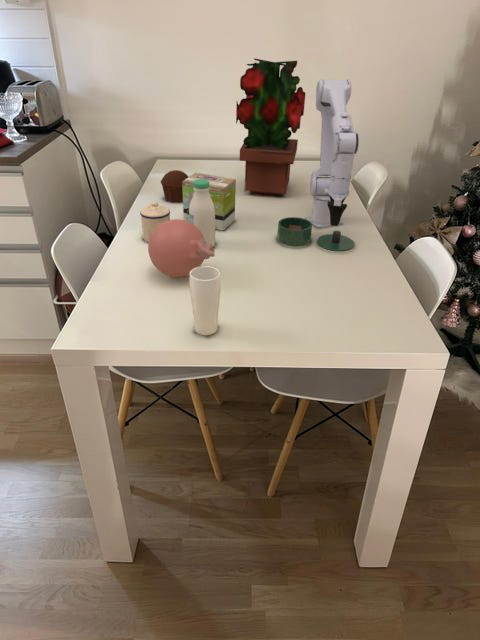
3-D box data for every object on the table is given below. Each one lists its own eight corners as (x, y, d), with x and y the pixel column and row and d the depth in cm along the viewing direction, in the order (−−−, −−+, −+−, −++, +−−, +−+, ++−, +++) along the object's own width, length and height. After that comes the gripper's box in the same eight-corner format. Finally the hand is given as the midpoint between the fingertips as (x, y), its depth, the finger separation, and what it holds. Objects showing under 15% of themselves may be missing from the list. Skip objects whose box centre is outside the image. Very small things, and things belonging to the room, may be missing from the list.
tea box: (182, 223, 164) (180, 180, 156) (196, 213, 172) (195, 171, 164) (224, 231, 160) (224, 187, 151) (235, 220, 167) (236, 177, 159)
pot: (311, 235, 158) (313, 218, 155) (309, 249, 150) (311, 232, 147) (279, 232, 160) (280, 215, 157) (275, 246, 151) (276, 228, 148)
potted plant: (234, 197, 185) (237, 64, 160) (244, 179, 203) (247, 57, 178) (293, 202, 183) (305, 67, 157) (297, 183, 201) (308, 59, 175)
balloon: (193, 299, 124) (191, 244, 116) (138, 275, 134) (133, 222, 126) (230, 277, 135) (231, 224, 126) (177, 256, 145) (174, 206, 136)
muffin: (190, 204, 179) (189, 177, 173) (159, 203, 178) (157, 176, 173) (193, 193, 188) (192, 167, 183) (164, 192, 188) (162, 166, 183)
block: (288, 236, 157) (289, 224, 154) (300, 237, 156) (301, 225, 154) (286, 241, 153) (287, 229, 151) (299, 242, 153) (300, 231, 151)
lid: (353, 239, 157) (355, 226, 155) (353, 254, 148) (356, 241, 145) (317, 235, 159) (319, 223, 156) (315, 251, 149) (317, 238, 147)
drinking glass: (203, 318, 118) (202, 262, 109) (226, 328, 115) (226, 271, 106) (185, 331, 113) (182, 274, 105) (208, 342, 110) (207, 283, 101)
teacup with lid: (167, 245, 150) (164, 209, 144) (138, 242, 151) (134, 206, 145) (177, 229, 160) (175, 195, 154) (150, 227, 161) (147, 192, 155)
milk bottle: (218, 241, 153) (218, 178, 142) (209, 252, 147) (208, 187, 136) (196, 238, 155) (194, 175, 144) (186, 248, 149) (183, 183, 138)
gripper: (327, 167, 148) (322, 210, 155) (325, 182, 136) (320, 228, 143) (351, 169, 147) (345, 212, 154) (351, 185, 135) (344, 230, 142)
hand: (334, 220), depth 149 cm, fingers open, 7 cm apart
